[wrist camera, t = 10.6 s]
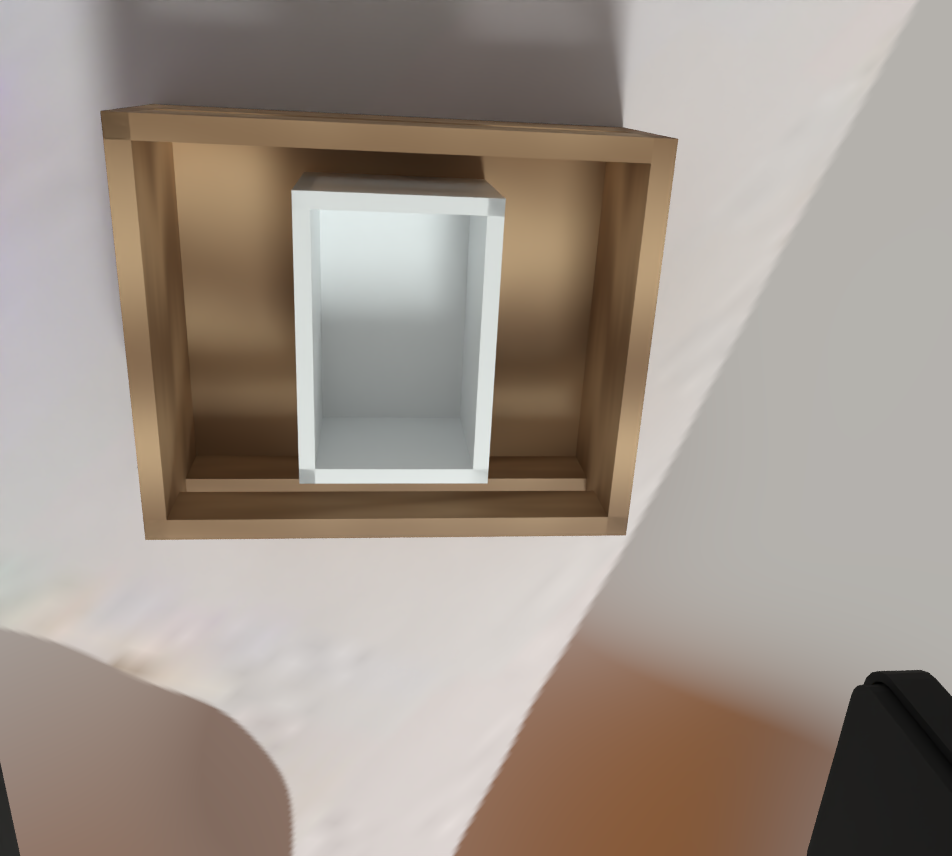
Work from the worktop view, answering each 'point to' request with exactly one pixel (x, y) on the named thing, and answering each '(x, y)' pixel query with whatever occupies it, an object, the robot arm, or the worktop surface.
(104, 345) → the worktop surface
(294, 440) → the oak crate
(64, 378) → the worktop surface
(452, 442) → the small crate
